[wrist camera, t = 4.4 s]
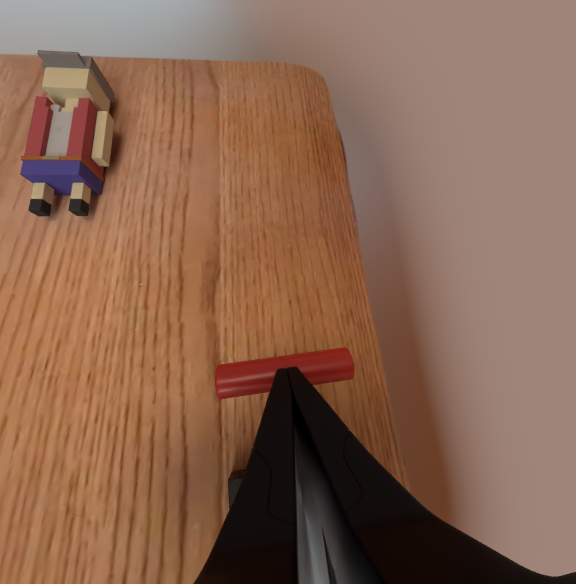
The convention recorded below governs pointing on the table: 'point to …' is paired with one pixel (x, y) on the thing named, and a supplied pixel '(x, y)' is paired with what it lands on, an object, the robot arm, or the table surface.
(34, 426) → the table surface
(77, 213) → the toy
